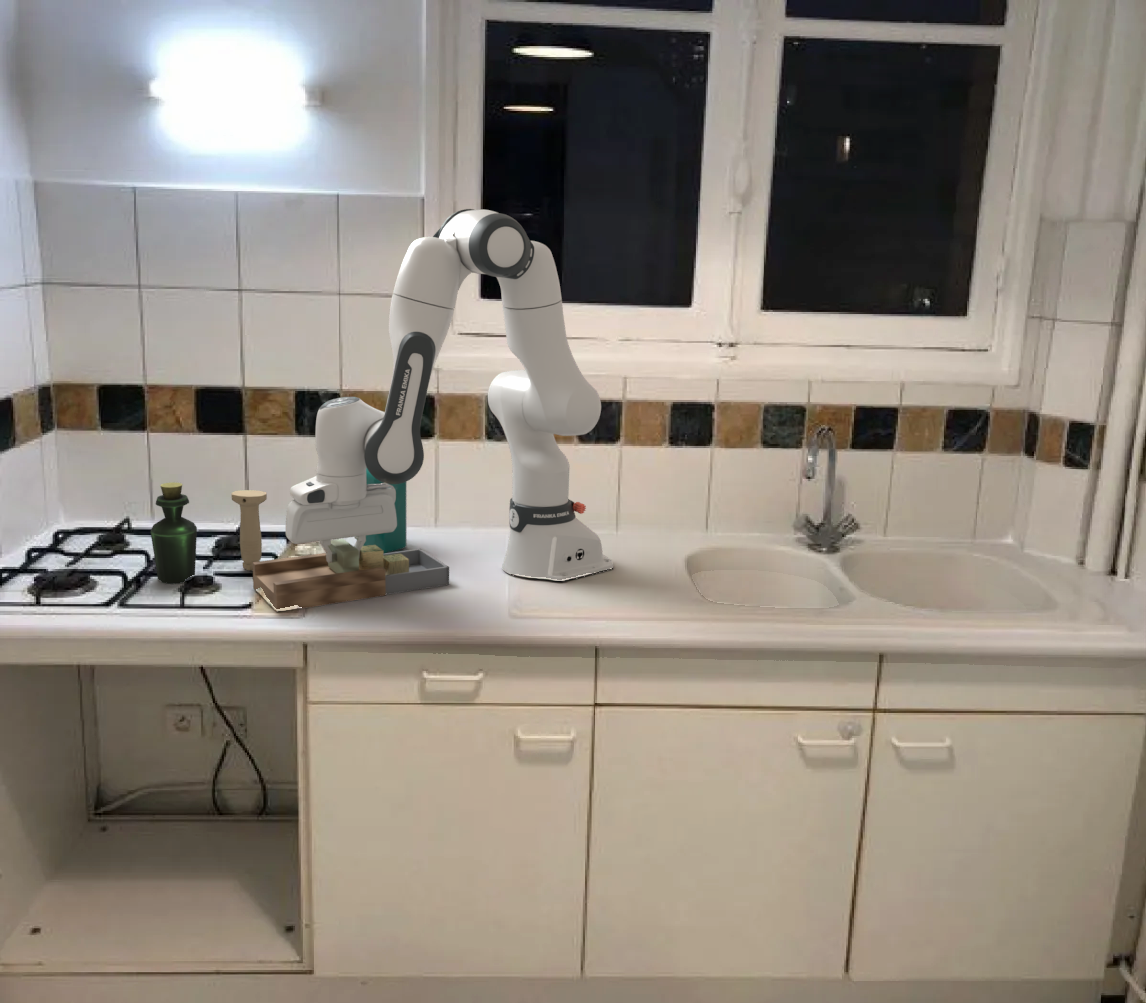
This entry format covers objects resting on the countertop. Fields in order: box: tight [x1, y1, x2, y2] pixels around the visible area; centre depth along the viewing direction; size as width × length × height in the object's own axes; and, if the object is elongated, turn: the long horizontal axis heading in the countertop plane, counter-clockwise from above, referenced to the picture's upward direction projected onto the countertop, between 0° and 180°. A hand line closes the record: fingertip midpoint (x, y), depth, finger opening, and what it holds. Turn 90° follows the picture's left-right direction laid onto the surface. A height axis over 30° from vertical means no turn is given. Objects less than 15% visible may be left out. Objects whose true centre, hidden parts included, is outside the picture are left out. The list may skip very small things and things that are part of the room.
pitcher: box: [363, 468, 408, 554], centre depth 224 cm, size 10×8×22 cm
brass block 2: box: [383, 554, 409, 575], centre depth 206 cm, size 4×4×4 cm
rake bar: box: [328, 538, 359, 573], centre depth 200 cm, size 3×8×5 cm, turn 32°
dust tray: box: [383, 548, 450, 595], centre depth 207 cm, size 13×13×4 cm
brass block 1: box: [359, 545, 383, 570], centre depth 202 cm, size 4×4×4 cm
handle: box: [230, 489, 268, 572], centre depth 208 cm, size 5×6×15 cm
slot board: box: [252, 552, 387, 609], centre depth 198 cm, size 20×14×5 cm
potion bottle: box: [150, 481, 198, 585], centre depth 201 cm, size 8×8×18 cm
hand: (343, 560), depth 200 cm, fingers closed on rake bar, 3 cm apart
